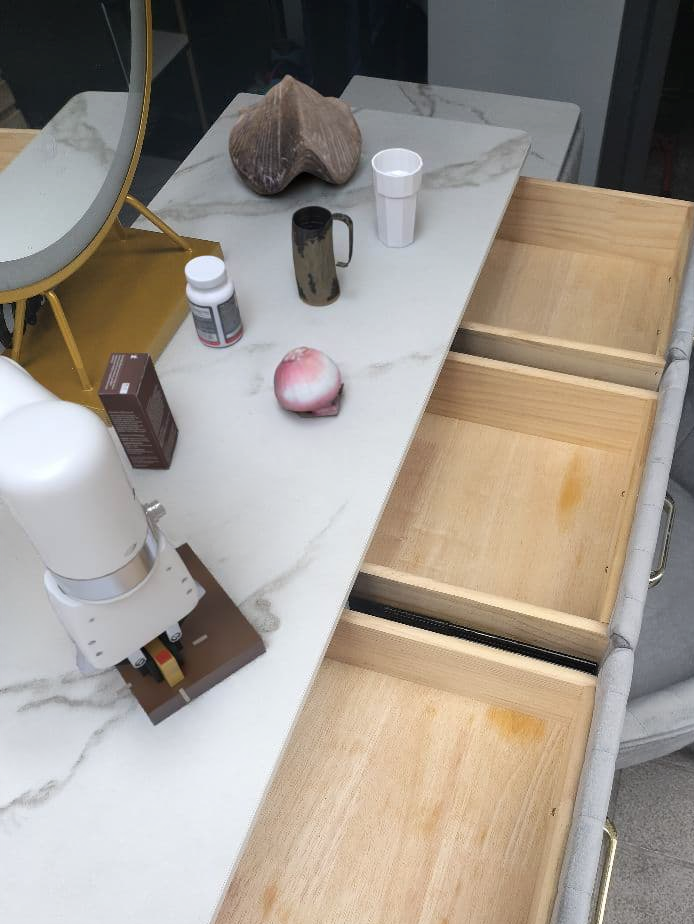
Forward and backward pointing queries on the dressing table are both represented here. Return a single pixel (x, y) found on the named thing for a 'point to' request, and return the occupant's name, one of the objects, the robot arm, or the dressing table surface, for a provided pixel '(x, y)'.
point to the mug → (317, 254)
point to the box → (138, 410)
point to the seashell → (294, 138)
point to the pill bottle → (213, 302)
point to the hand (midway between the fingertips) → (161, 662)
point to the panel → (199, 648)
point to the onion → (308, 382)
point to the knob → (165, 661)
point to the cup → (396, 194)
